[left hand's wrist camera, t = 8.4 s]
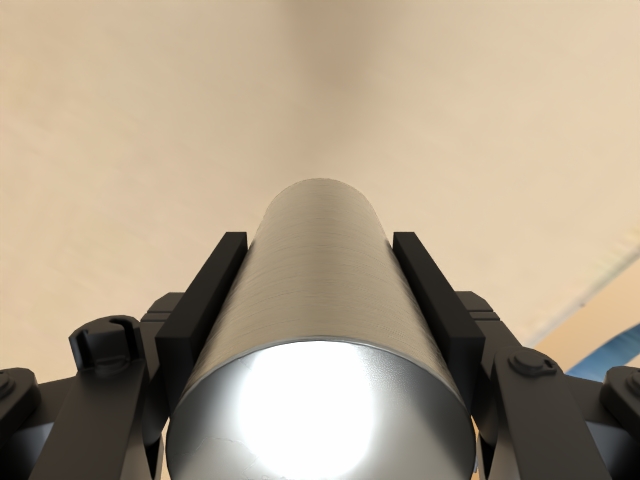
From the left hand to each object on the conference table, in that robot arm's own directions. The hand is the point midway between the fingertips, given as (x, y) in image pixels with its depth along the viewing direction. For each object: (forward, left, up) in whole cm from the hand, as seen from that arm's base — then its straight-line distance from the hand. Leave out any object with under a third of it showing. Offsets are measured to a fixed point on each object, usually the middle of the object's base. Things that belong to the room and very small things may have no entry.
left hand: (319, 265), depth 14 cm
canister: (0, 0, -3) cm, 3 cm away
